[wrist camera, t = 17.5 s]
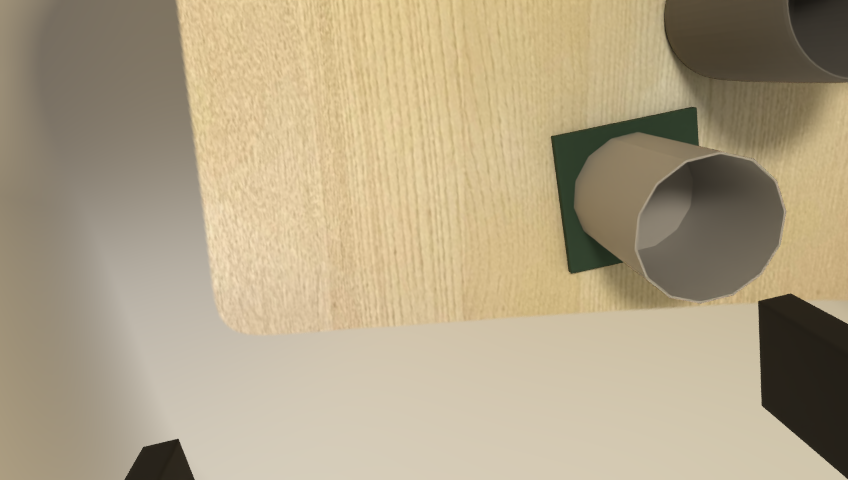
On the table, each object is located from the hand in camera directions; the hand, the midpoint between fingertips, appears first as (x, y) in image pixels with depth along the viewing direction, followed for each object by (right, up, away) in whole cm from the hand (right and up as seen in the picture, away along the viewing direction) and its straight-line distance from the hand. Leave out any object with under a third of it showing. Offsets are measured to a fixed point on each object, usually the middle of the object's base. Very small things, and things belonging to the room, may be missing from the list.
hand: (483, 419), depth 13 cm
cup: (+13, +7, +28) cm, 32 cm away
